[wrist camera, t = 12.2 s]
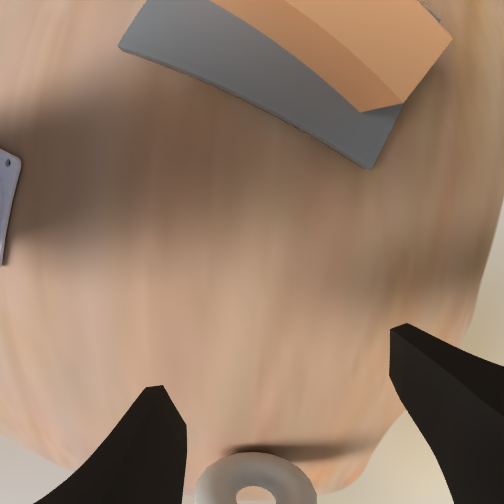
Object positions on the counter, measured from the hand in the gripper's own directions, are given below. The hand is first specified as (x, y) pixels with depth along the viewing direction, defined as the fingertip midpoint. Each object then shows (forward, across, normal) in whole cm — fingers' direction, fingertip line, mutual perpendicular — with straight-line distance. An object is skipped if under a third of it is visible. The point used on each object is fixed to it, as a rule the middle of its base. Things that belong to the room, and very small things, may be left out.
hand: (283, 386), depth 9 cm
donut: (+10, +5, +17) cm, 20 cm away
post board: (+9, -6, -14) cm, 18 cm away
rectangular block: (+8, -6, -14) cm, 17 cm away
